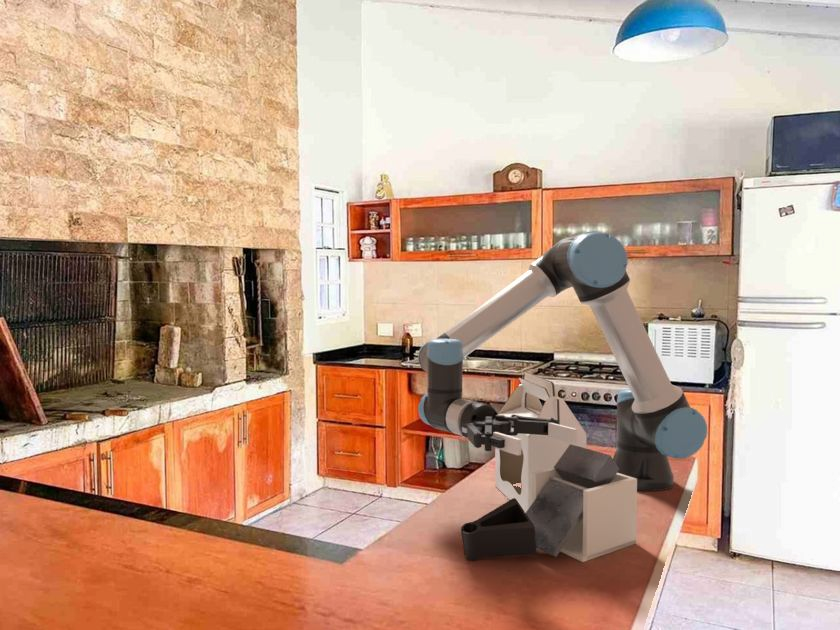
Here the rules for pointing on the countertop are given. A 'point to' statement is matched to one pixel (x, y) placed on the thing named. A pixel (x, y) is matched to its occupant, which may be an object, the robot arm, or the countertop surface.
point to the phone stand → (500, 533)
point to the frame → (598, 515)
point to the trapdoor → (568, 496)
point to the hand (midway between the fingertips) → (548, 441)
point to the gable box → (533, 438)
